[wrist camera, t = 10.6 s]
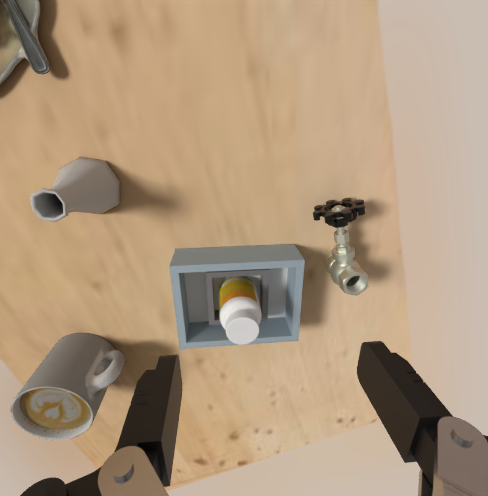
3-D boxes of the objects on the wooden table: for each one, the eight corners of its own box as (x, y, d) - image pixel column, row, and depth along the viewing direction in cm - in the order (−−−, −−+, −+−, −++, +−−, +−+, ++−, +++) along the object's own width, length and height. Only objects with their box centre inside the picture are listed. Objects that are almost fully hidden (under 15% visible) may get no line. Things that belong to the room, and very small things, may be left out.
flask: (129, 209, 37) (100, 235, 28) (74, 218, 37) (27, 247, 28) (111, 151, 34) (72, 159, 25) (51, 161, 34) (-10, 173, 25)
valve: (358, 268, 44) (351, 194, 39) (381, 291, 38) (376, 206, 33) (317, 279, 44) (305, 206, 39) (333, 303, 38) (321, 220, 33)
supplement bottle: (212, 282, 41) (211, 324, 32) (246, 266, 41) (254, 305, 32) (229, 309, 43) (232, 356, 34) (260, 295, 43) (272, 338, 34)
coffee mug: (70, 386, 48) (35, 447, 38) (40, 341, 44) (-7, 397, 35) (147, 367, 48) (130, 424, 38) (124, 320, 44) (99, 371, 34)
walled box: (175, 248, 40) (169, 266, 35) (293, 243, 41) (304, 259, 36) (184, 324, 45) (179, 348, 40) (289, 317, 46) (298, 340, 41)
